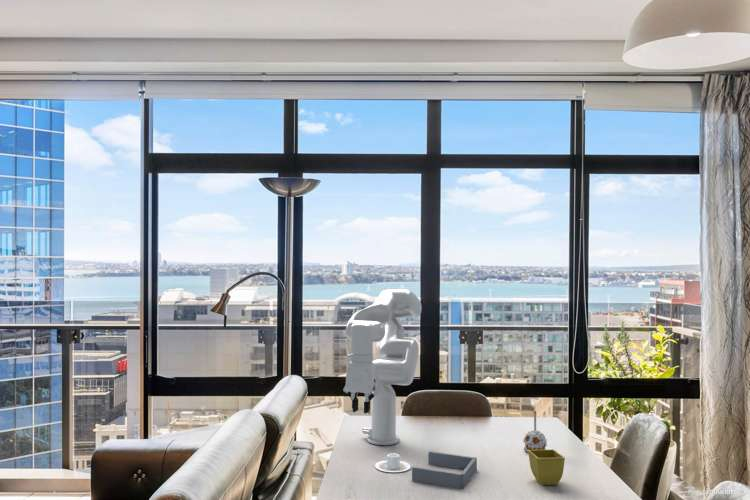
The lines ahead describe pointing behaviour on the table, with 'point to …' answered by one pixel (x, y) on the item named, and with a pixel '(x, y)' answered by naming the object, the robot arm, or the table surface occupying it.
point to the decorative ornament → (534, 439)
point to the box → (442, 476)
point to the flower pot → (546, 466)
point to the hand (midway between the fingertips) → (361, 411)
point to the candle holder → (393, 463)
